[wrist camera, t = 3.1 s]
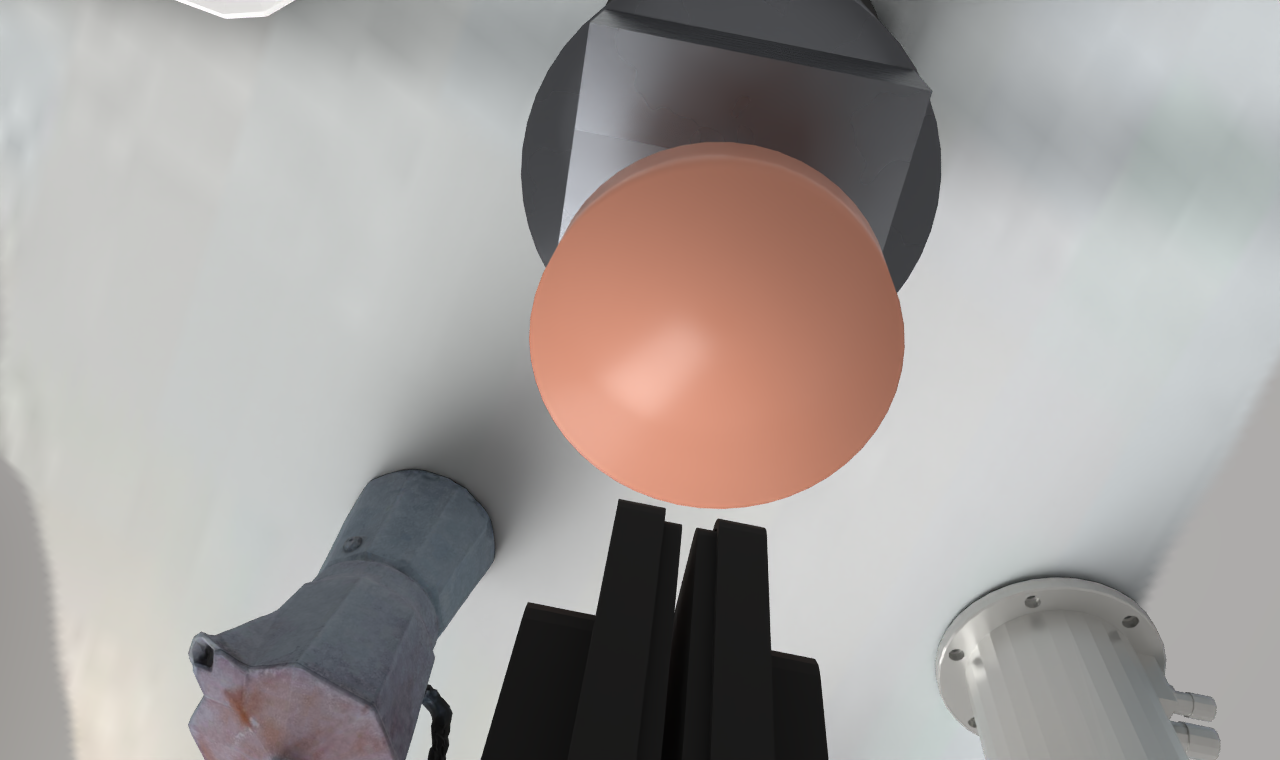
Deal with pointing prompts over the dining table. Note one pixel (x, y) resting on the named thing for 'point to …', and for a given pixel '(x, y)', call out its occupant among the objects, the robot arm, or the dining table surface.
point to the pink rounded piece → (717, 327)
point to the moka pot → (350, 636)
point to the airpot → (738, 107)
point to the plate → (238, 7)
